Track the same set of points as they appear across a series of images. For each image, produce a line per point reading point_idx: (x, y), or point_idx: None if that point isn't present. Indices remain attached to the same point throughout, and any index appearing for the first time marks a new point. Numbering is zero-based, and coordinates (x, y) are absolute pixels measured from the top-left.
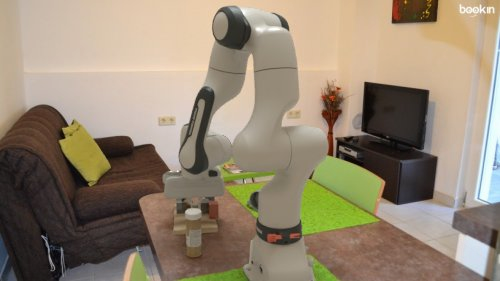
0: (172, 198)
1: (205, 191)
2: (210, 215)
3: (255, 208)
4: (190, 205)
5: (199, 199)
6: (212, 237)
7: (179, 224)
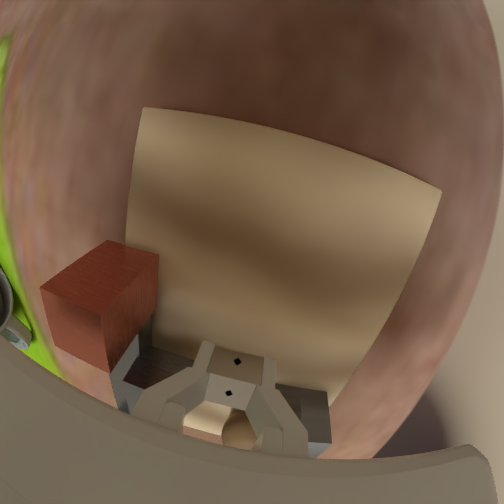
0: (444, 451)
1: (57, 451)
2: (142, 262)
3: (8, 291)
4: (242, 418)
5: (173, 410)
6: (210, 53)
7: (379, 265)
